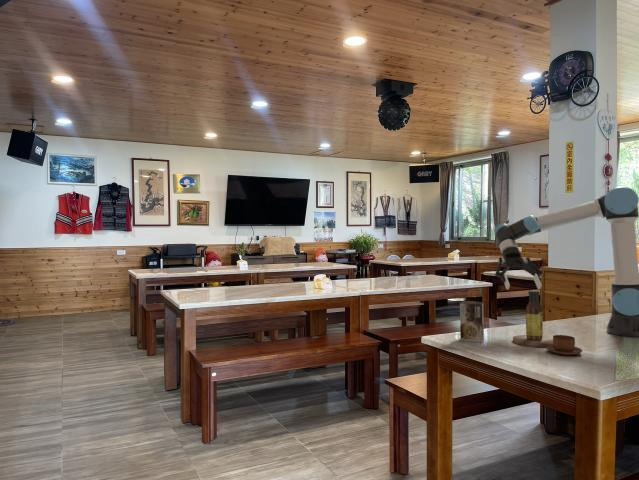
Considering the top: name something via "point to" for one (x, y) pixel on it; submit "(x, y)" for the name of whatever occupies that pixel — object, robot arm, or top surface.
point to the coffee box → (471, 321)
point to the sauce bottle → (534, 317)
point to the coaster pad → (532, 341)
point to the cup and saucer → (564, 345)
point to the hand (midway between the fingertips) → (524, 287)
